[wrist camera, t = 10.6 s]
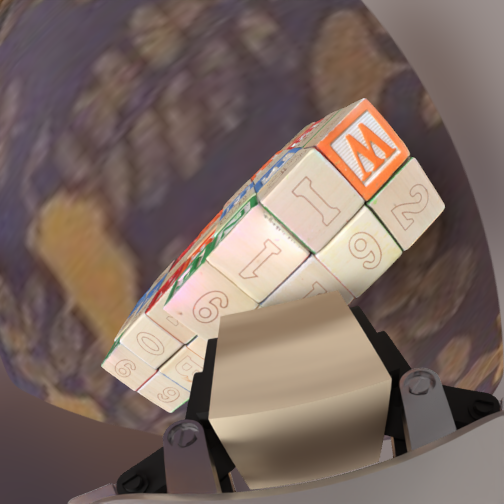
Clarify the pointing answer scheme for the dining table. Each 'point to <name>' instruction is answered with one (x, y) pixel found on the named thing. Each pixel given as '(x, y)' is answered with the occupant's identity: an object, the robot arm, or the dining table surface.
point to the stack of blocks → (281, 245)
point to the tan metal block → (298, 392)
